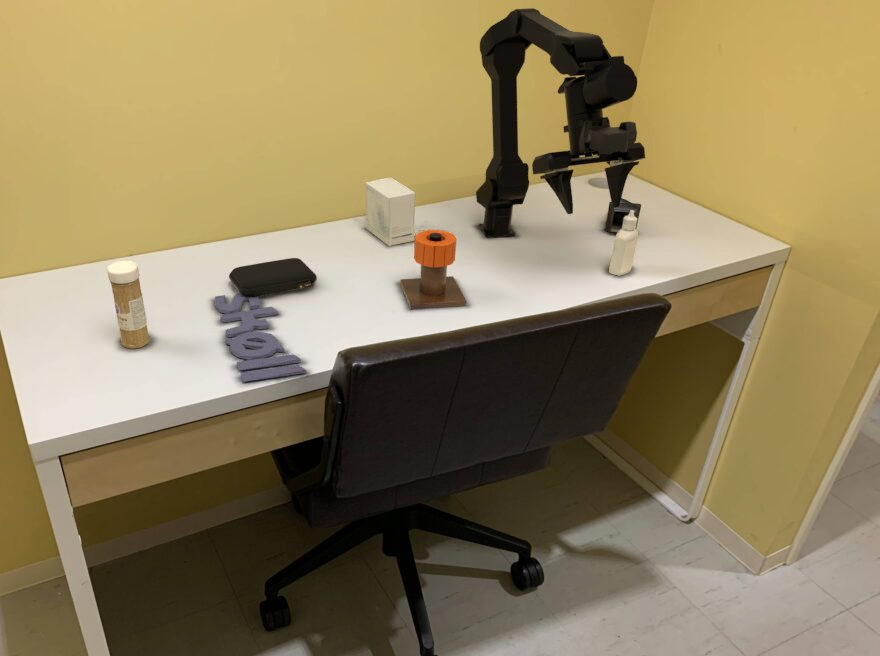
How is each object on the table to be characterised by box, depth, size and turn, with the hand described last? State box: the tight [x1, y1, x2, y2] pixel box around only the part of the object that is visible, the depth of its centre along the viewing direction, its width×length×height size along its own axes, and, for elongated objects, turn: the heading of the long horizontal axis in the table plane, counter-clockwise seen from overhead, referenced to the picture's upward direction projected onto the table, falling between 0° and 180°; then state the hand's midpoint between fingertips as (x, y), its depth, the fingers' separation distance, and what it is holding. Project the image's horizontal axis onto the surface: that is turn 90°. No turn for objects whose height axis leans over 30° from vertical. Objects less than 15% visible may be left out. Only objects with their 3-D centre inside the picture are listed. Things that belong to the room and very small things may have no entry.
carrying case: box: [228, 257, 318, 298], centre depth 139 cm, size 11×3×15 cm
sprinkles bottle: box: [106, 260, 151, 349], centre depth 119 cm, size 5×5×14 cm
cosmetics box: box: [365, 176, 417, 247], centre depth 158 cm, size 10×6×10 cm, turn 27°
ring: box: [413, 229, 457, 267], centre depth 133 cm, size 7×7×4 cm
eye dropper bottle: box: [608, 210, 639, 277], centre depth 144 cm, size 4×6×12 cm
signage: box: [214, 292, 307, 383], centre depth 125 cm, size 28×1×10 cm
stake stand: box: [399, 233, 467, 310], centre depth 135 cm, size 10×10×12 cm
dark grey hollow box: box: [604, 197, 642, 233], centre depth 164 cm, size 6×13×6 cm, turn 170°
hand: (593, 210), depth 130 cm, fingers open, 9 cm apart
